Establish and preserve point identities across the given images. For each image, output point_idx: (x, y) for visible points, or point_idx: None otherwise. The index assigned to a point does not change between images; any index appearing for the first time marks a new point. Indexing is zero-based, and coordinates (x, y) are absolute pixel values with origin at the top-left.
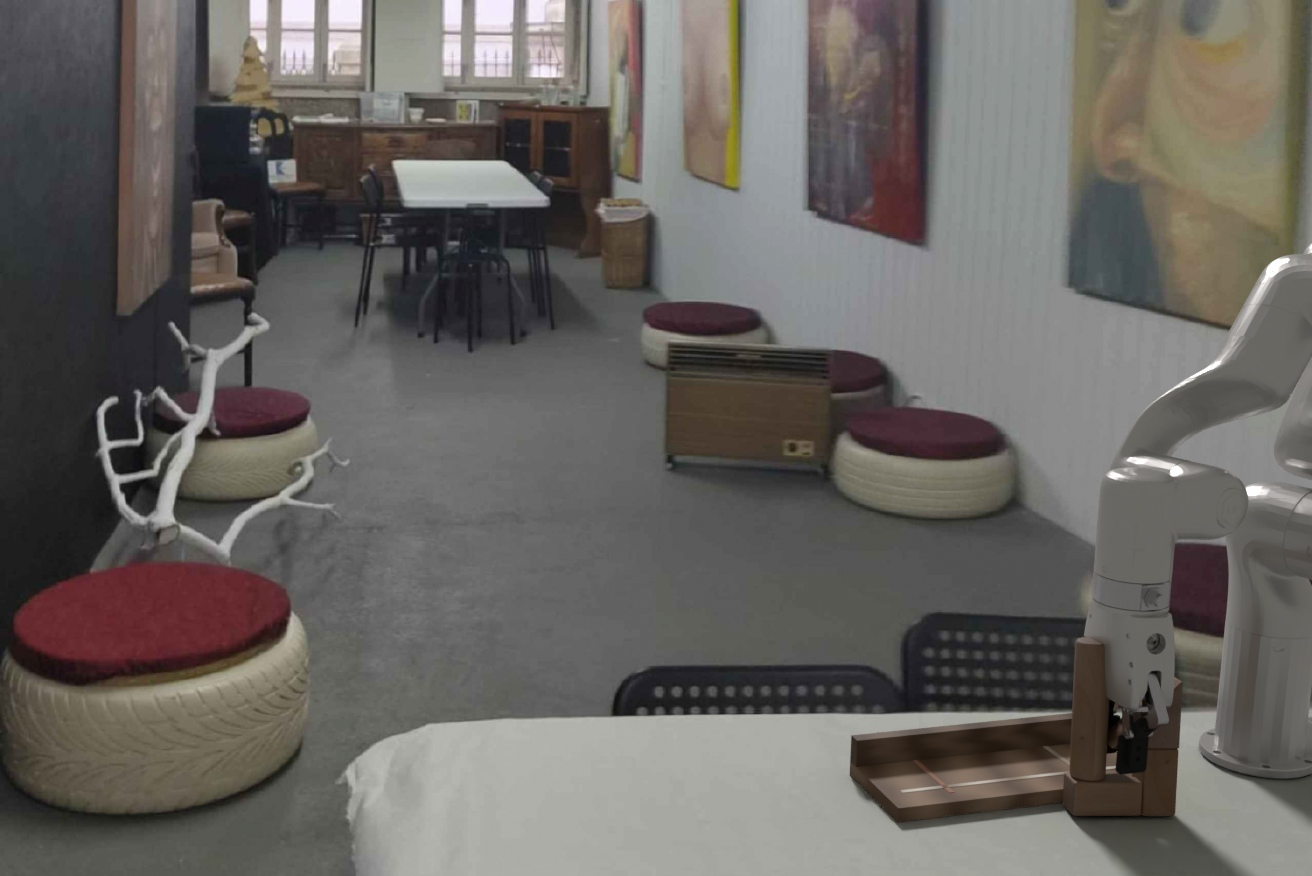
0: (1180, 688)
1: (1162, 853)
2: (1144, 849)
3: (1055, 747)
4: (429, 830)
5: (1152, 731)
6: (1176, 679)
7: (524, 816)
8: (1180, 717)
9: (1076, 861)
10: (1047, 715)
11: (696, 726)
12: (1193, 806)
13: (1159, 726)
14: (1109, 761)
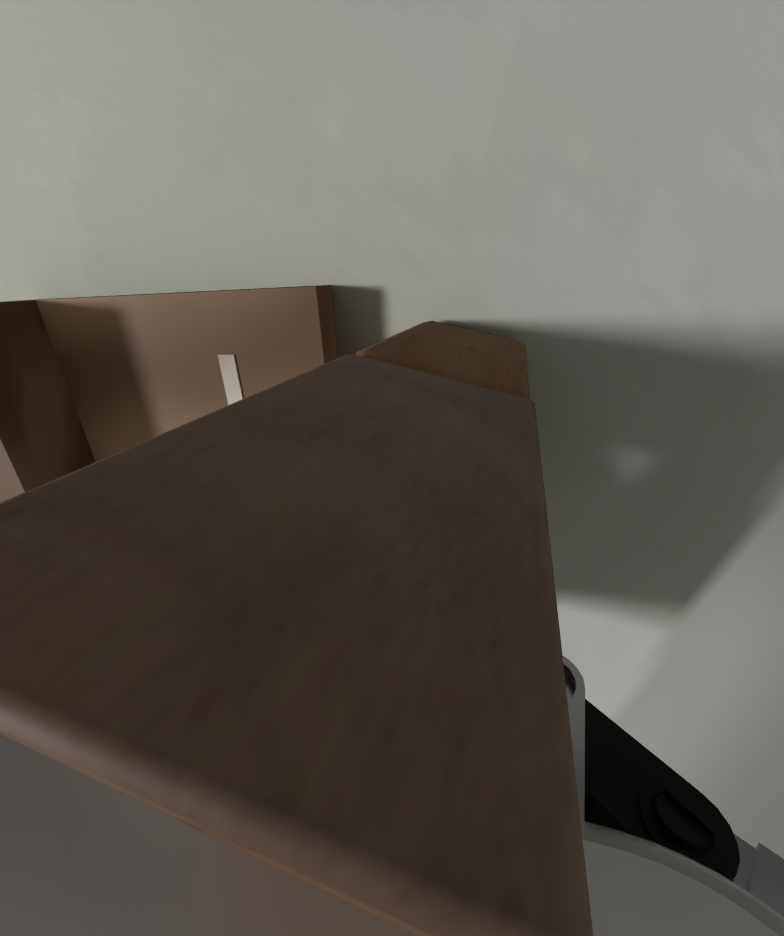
0: (567, 805)
1: (685, 501)
2: (643, 528)
3: (103, 455)
4: None
5: (639, 749)
6: (255, 852)
7: None
8: (539, 479)
9: (621, 676)
10: None
11: None
12: (455, 211)
13: (782, 865)
14: (187, 363)
